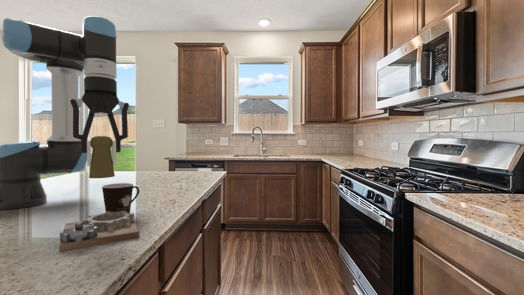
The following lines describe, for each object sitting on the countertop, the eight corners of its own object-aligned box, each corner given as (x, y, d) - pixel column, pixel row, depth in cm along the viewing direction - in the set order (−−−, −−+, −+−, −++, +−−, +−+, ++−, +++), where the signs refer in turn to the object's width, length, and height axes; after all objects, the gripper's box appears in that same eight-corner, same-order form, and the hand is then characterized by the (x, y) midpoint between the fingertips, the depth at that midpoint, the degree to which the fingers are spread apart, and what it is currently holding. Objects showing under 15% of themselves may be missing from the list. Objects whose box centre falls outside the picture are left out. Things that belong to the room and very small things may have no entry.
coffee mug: (105, 223, 78) (105, 189, 78) (99, 216, 84) (99, 185, 84) (146, 215, 86) (146, 184, 85) (138, 210, 92) (138, 181, 92)
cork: (102, 178, 68) (102, 135, 68) (83, 178, 70) (82, 135, 69) (119, 175, 74) (119, 136, 74) (101, 175, 76) (101, 136, 75)
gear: (61, 235, 64) (61, 222, 64) (96, 230, 68) (96, 217, 68) (58, 245, 58) (58, 231, 58) (97, 239, 62) (97, 225, 61)
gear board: (65, 228, 73) (65, 216, 72) (130, 219, 81) (130, 208, 81) (59, 251, 58) (59, 235, 58) (139, 237, 67) (139, 223, 67)
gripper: (56, 70, 63) (58, 167, 64) (139, 79, 73) (140, 164, 74) (59, 77, 70) (61, 165, 70) (136, 84, 79) (137, 162, 80)
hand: (102, 164), depth 72 cm, fingers closed on cork, 5 cm apart
